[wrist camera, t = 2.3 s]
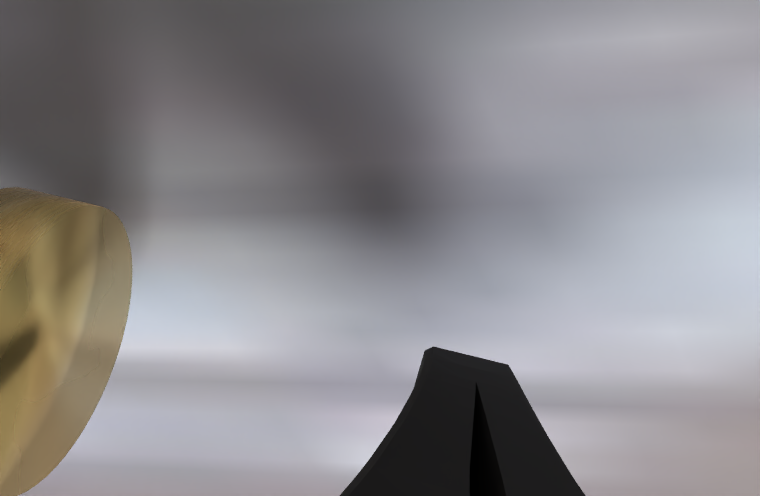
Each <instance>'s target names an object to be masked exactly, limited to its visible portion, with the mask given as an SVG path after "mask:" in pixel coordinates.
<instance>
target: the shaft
mask: <svg viewBox="0 0 760 496" xmlns="http://www.w3.org/2000/svg"><path fill="white" fill-rule="evenodd" d="M131 287H132V257H131V249H130V244H129V240H128V236H127V233H126V230H125V228H124V226H123V224H122V222H121V221H120V219H119V218H118V217H117V216H116V215H115V214H114V213H113V212H112V211H111V210H109V209H106V208H104V207H101V206H97V205H93V204H89V203H84V202H80V201H76V200H72V199H68V198H64V197H59V196H55V195H51V194H47V193H43V192H39V191H34V190H30V189H25V188H20V187H12V188H3V189H0V496H18V495H20V494H22V493H24V492H26V491H28V490H29V489H31V488H32V487H34V486H35V485H37V484H38V483H39V482H40V481H42V480H43V479H44V478H45V477H46V476H47V475H48V474H49V473H50V472H51V471H52V470H53V469H54V468H55V467H56V466H57V465H58V464H59V463H60V462H61V460H62V459H63V458H64V457H65V456H66V454H67V453H68V452H69V450H70V449H71V448H72V446H73V445H74V443H75V442H76V441H77V439H78V437H79V436H80V434H81V433H82V431H83V430H84V428H85V426H86V425H87V423H88V421H89V419H90V417H91V416H92V414H93V412H94V410H95V408H96V406H97V404H98V402H99V400H100V398H101V396H102V394H103V391H104V389H105V387H106V385H107V382H108V380H109V377H110V375H111V372H112V369H113V367H114V364H115V361H116V358H117V355H118V352H119V349H120V345H121V342H122V338H123V334H124V330H125V326H126V322H127V316H128V311H129V305H130V297H131Z"/></svg>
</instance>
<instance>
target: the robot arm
mask: <svg viewBox="0 0 760 496" xmlns="http://www.w3.org/2000/svg"><path fill="white" fill-rule="evenodd" d="M340 496H585V494H584V493H583V492H582V490H581V489H580V487H579V486H578V484H577V483H576V481H575V480H574V478H573V477H572V475H571V474H570V472H569V470H568V469H567V467H566V465H565V464H564V462H563V460H562V459H561V457H560V455H559V454H558V452H557V451H556V449H555V447H554V446H553V444H552V442H551V441H550V439H549V437H548V436H547V434H546V432H545V430H544V429H543V427H542V425H541V423H540V421H539V420H538V418H537V416H536V414H535V412H534V411H533V409H532V407H531V405H530V403H529V402H528V400H527V398H526V396H525V394H524V392H523V390H522V389H521V387H520V385H519V383H518V381H517V379H516V378H515V376H514V374H513V372H512V370H511V369H510V367H509V365H507V364H503V363H499V362H495V361H490V360H486V359H482V358H478V357H474V356H470V355H466V354H462V353H458V352H454V351H449V350H445V349H441V348H437V347H432V348H429V349H427V350H425V351H424V355H423V358H422V362H421V365H420V369H419V372H418V376H417V379H416V383H415V386H414V389H413V391H412V393H411V395H410V397H409V399H408V401H407V402H406V404H405V406H404V408H403V409H402V411H401V413H400V415H399V416H398V418H397V420H396V422H395V423H394V425H393V426H392V428H391V429H390V431H389V432H388V434H387V435H386V436H385V438H384V439H383V441H382V442H381V444H380V445H379V447H378V448H377V449H376V451H375V452H374V454H373V455H372V457H371V458H370V459H369V461H368V462H367V463H366V464H365V466H364V467H363V468H362V470H361V471H360V472H359V473H358V475H357V476H356V477H355V478H354V480H353V481H352V482H351V483H350V484H349V486H348V487H347V488H346V489H345V490H344V491H343V492H342V494H341V495H340Z"/></svg>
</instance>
